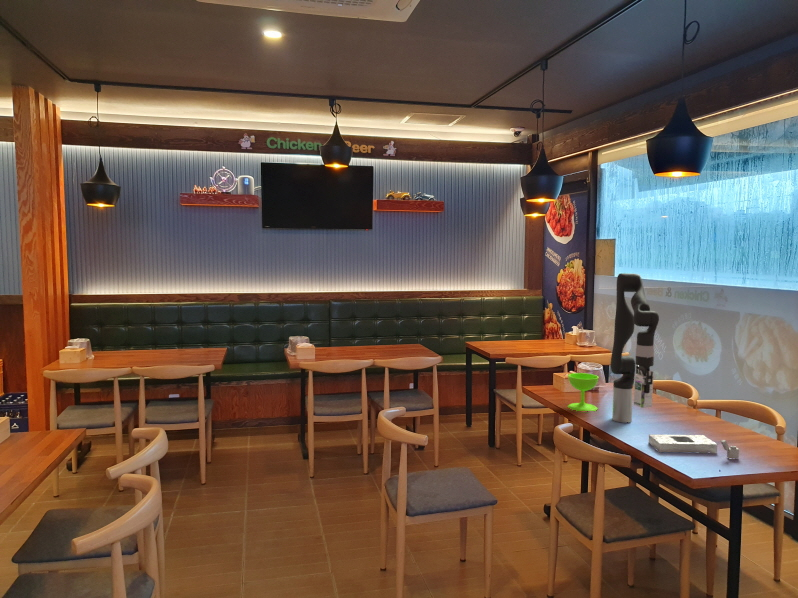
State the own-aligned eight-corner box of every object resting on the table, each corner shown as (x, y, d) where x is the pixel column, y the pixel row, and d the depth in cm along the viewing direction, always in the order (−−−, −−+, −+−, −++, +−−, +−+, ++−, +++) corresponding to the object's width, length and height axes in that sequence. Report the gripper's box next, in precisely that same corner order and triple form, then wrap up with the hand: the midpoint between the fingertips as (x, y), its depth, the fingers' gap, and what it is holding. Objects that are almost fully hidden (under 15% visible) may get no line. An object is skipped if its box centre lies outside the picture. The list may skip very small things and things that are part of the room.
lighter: (736, 457, 237) (737, 439, 237) (738, 459, 236) (739, 440, 235) (719, 458, 237) (720, 439, 236) (722, 459, 235) (723, 440, 235)
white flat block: (648, 443, 255) (649, 434, 255) (703, 444, 254) (703, 435, 254) (659, 452, 243) (659, 443, 243) (716, 453, 242) (717, 444, 242)
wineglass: (601, 412, 305) (602, 379, 303) (571, 412, 305) (572, 379, 304) (592, 404, 321) (593, 373, 319) (563, 404, 321) (564, 373, 320)
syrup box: (633, 404, 260) (634, 373, 259) (643, 403, 262) (644, 372, 261) (642, 408, 254) (643, 376, 253) (652, 406, 256) (653, 375, 255)
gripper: (630, 352, 264) (629, 387, 265) (642, 357, 249) (640, 394, 251) (647, 352, 263) (646, 387, 264) (659, 357, 249) (658, 394, 250)
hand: (643, 390), depth 257 cm, fingers closed on syrup box, 7 cm apart
